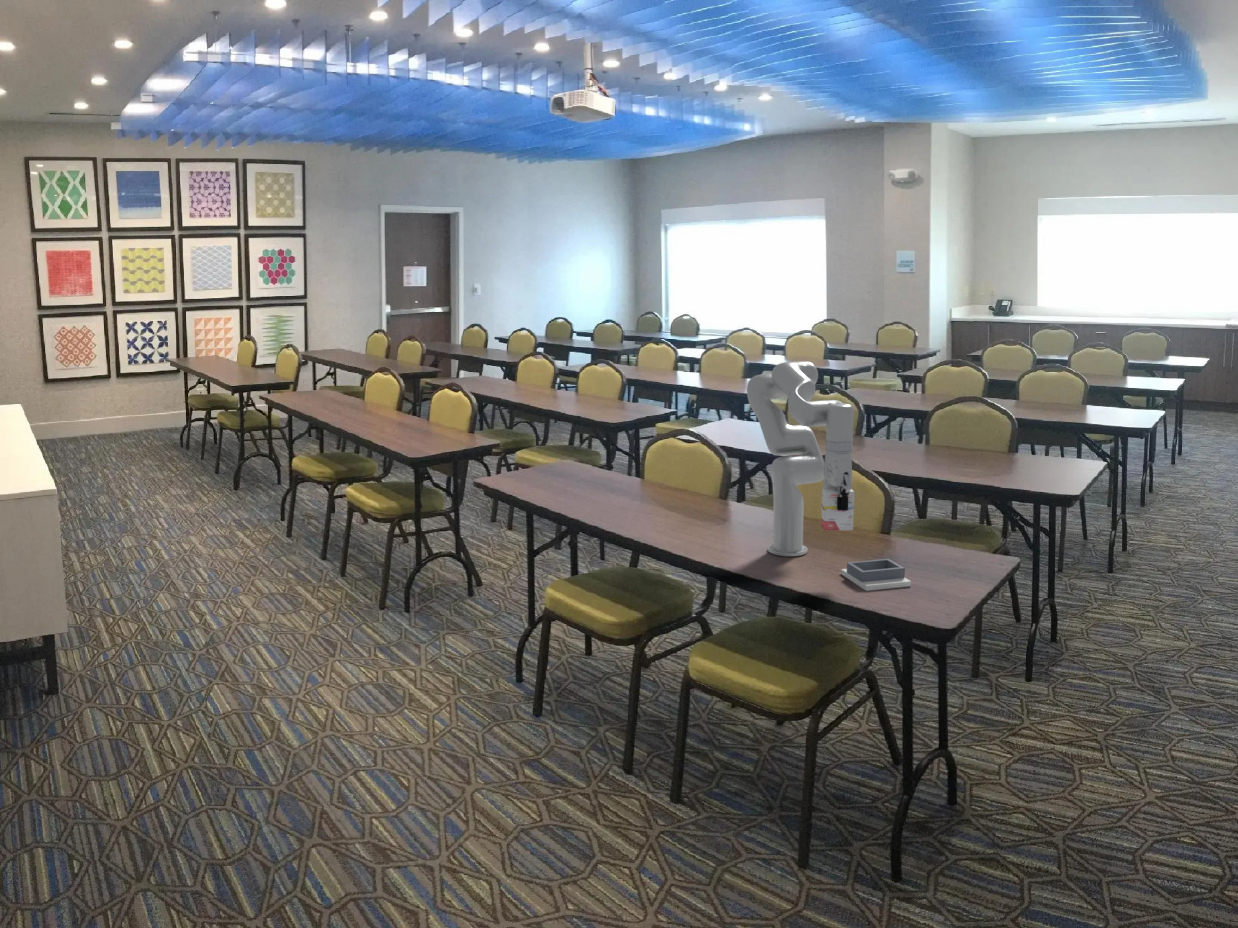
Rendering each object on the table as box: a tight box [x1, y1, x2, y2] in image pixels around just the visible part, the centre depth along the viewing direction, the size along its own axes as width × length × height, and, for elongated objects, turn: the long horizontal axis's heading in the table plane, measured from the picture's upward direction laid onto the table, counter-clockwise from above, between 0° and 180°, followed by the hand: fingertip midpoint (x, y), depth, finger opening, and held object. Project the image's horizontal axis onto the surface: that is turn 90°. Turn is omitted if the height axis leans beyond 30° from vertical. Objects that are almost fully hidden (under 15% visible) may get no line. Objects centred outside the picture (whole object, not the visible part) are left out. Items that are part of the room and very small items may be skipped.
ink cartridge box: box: [820, 478, 855, 532], centre depth 280 cm, size 9×5×15 cm, turn 90°
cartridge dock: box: [840, 558, 912, 592], centre depth 281 cm, size 16×14×4 cm
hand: (837, 506), depth 280 cm, fingers closed on ink cartridge box, 5 cm apart
